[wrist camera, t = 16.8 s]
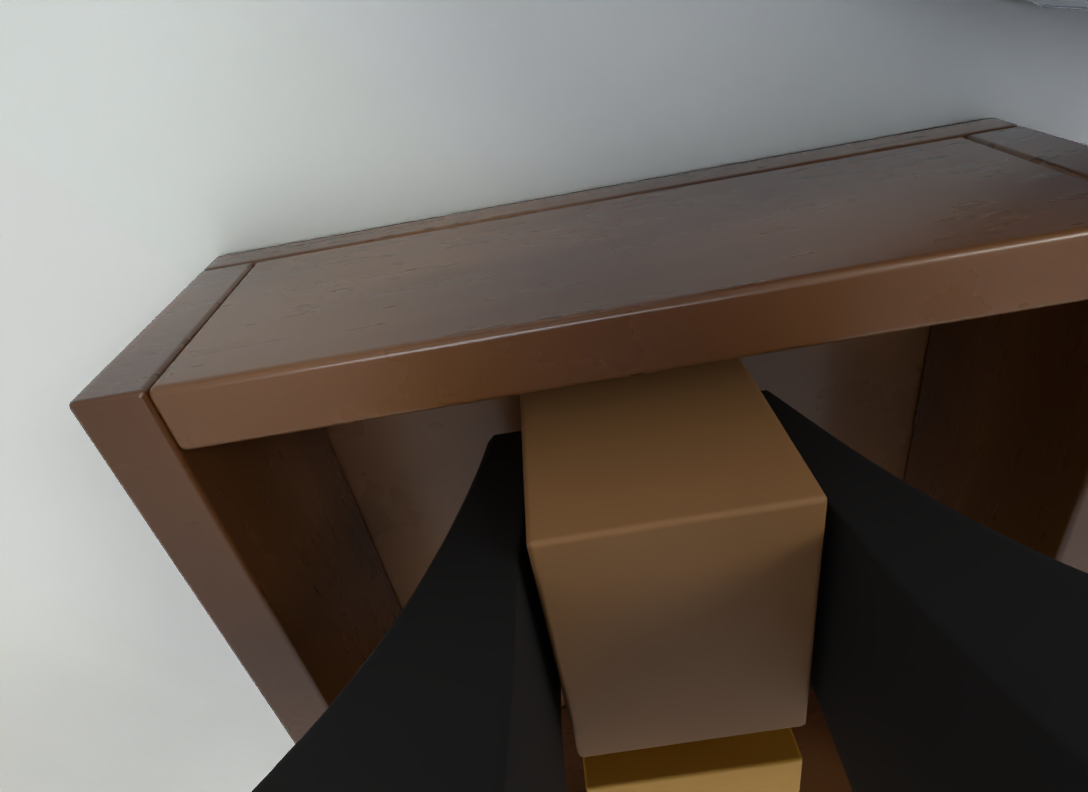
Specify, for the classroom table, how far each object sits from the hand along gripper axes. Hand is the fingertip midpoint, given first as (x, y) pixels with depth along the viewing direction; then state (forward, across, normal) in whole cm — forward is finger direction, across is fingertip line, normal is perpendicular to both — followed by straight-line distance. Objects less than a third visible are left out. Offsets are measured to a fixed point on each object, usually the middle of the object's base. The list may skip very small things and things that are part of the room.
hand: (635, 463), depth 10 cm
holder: (+2, 0, +2) cm, 3 cm away
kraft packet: (+1, 0, 0) cm, 1 cm away
